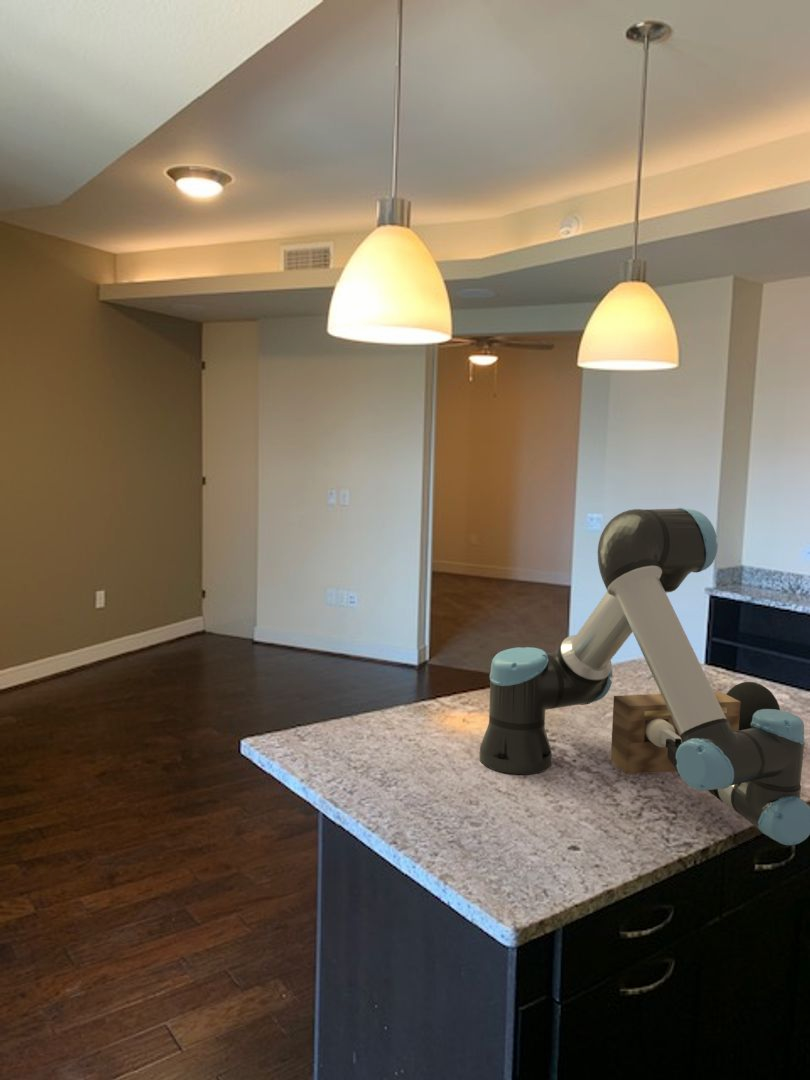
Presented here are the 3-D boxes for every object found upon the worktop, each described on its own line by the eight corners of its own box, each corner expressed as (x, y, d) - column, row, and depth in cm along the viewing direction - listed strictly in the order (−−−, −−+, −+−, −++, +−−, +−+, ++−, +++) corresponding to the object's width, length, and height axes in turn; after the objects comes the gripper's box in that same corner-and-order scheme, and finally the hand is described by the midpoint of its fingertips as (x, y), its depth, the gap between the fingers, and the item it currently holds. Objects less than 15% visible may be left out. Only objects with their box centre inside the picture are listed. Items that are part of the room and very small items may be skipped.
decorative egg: (766, 762, 167) (771, 694, 165) (709, 747, 175) (714, 682, 174) (786, 748, 176) (791, 683, 174) (731, 734, 184) (735, 672, 182)
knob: (650, 747, 156) (652, 722, 156) (616, 722, 171) (617, 699, 171) (674, 746, 157) (676, 721, 157) (637, 721, 172) (639, 698, 172)
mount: (626, 774, 159) (630, 706, 157) (610, 760, 166) (613, 695, 164) (736, 768, 163) (741, 702, 162) (716, 754, 171) (720, 691, 169)
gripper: (699, 807, 132) (633, 755, 155) (767, 803, 135) (693, 752, 158) (702, 765, 132) (635, 719, 155) (771, 761, 134) (695, 716, 157)
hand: (664, 735), depth 156 cm, fingers closed
